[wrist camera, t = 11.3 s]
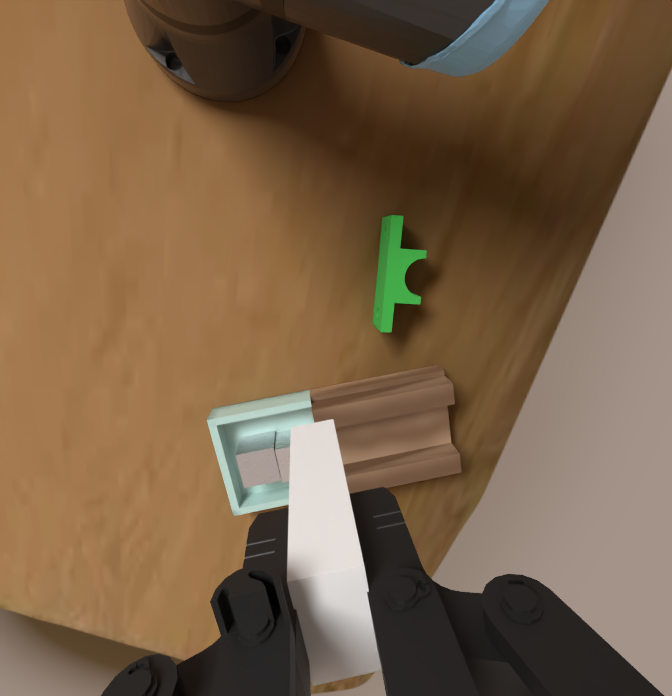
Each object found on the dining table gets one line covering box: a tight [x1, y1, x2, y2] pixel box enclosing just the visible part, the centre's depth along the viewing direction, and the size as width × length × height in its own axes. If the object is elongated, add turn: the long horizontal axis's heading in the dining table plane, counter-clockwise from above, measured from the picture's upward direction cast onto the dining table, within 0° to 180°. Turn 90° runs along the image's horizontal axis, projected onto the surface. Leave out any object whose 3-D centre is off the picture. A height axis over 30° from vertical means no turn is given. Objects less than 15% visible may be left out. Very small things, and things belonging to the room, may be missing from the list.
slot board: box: [309, 365, 461, 494], centre depth 46 cm, size 12×15×4 cm
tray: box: [207, 390, 314, 516], centre depth 46 cm, size 12×11×3 cm
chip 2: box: [275, 430, 291, 483], centre depth 45 cm, size 4×4×4 cm
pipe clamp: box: [373, 215, 427, 332], centre depth 41 cm, size 11×4×5 cm, turn 176°
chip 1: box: [235, 430, 281, 488], centre depth 45 cm, size 4×4×4 cm
